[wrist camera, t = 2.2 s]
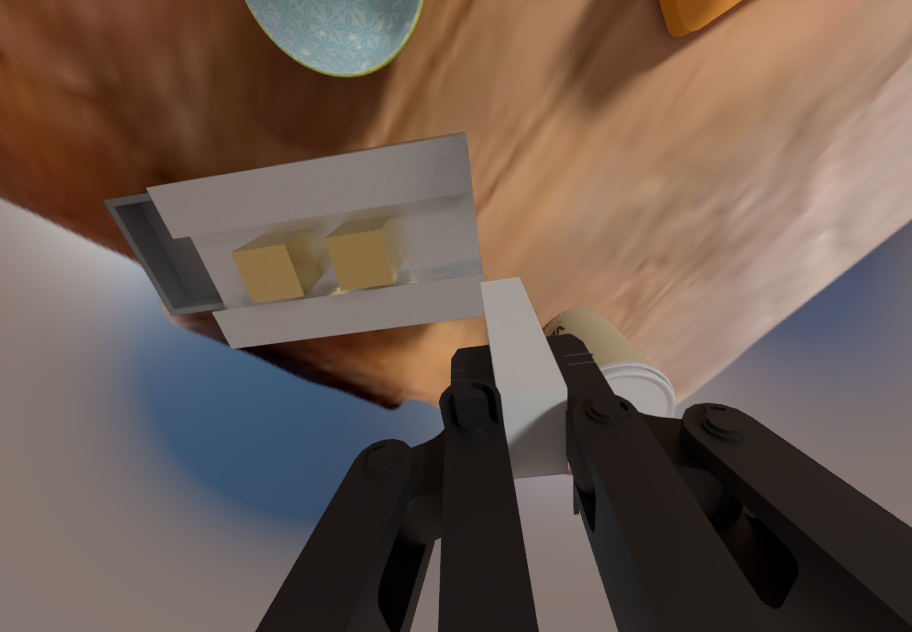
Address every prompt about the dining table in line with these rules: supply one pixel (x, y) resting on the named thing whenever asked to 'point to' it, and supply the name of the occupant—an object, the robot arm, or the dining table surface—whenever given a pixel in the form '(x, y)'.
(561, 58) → the dining table surface
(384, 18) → the bowl
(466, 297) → the rail block
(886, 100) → the dining table surface
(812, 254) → the dining table surface
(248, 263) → the chip
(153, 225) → the tray
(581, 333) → the coffee cup
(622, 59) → the dining table surface
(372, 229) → the tan cube
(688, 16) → the bracket
